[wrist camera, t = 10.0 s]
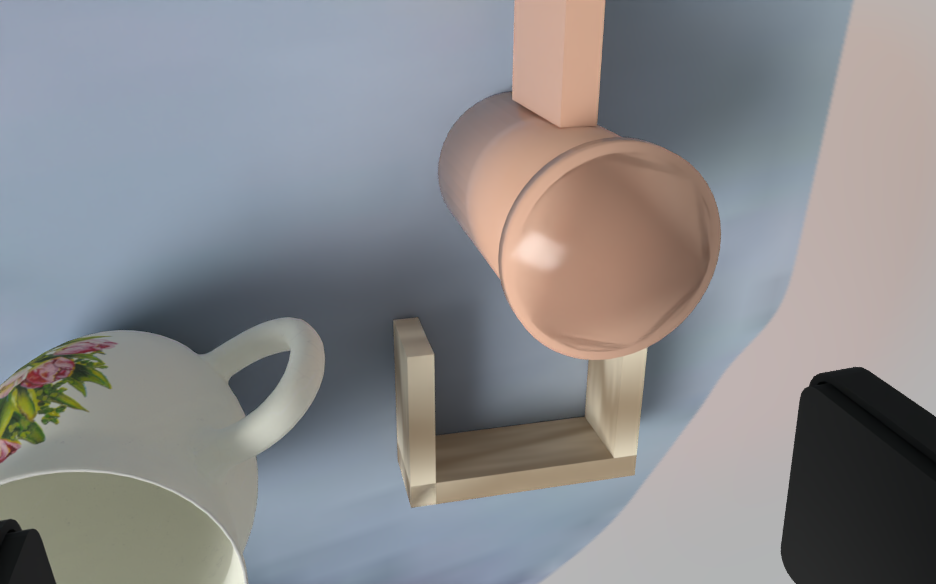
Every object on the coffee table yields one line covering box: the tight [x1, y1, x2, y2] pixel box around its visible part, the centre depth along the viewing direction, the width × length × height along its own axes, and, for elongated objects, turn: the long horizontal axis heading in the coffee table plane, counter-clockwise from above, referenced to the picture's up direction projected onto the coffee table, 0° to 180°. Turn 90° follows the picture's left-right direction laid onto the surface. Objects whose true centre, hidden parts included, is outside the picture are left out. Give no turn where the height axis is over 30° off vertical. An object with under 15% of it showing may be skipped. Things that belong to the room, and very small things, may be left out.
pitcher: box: [0, 317, 325, 584], centre depth 31 cm, size 11×18×14 cm, turn 124°
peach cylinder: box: [438, 0, 721, 360], centre depth 31 cm, size 13×8×12 cm, turn 0°
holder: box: [393, 317, 647, 508], centre depth 40 cm, size 8×11×4 cm
